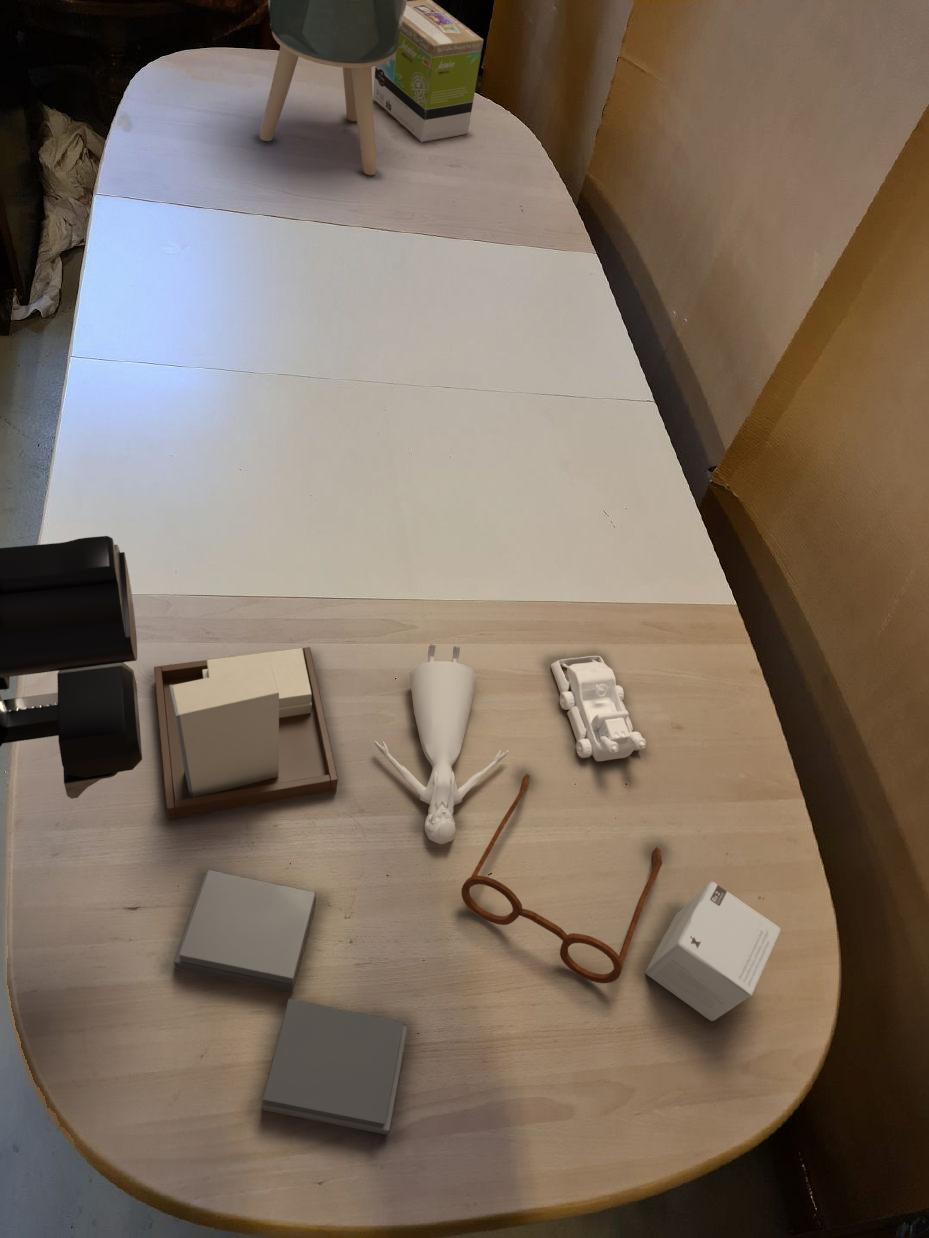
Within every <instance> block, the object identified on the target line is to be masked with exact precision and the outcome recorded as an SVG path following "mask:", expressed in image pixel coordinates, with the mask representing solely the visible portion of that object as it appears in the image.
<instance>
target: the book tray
mask: <svg viewBox="0 0 929 1238" xmlns="http://www.w3.org/2000/svg"><path fill="white" fill-rule="evenodd" d="M301 648H302V649H303V654H304V659H305V664H306V669H307V674H308V679H309V684H310V689H311V693H312V695H311V703H312V709H311V713H309V714H302V715H295V716H288V717H282V718H279V770H278V777H275V778H271V779H267V780H263V781H259V782H256V783H252V784H248V785H244V786H240V787H236V788H232V789H228V790H224V791H220V792H216V793H212V794H208V795H205V796H200V797H194V798H190V795H189V790H188V786H187V781H186V777H185V772H184V766H183V761H182V755H181V749H180V744H179V738H178V732H177V727H176V721H175V715H174V710H173V704H172V698H171V693H170V687H169V685H176V684H181V683H185V682H190V681H195V680H200V679H203V672H202V670H203V669H208V667H207V660H208V659H205V660H197V661H189V662H181V663H174V664H172V663H171V664H167V665H166V664H164V665H158V666H154V667H153V673H154V685H155V695H156V706H157V707H156V708H157V718H158V729H159V740H160V751H161V763H162V772H163V783H164V784H163V785H164V795H165V806H166V807H165V808H166V812H167V817H168V820H169V821H172V820H173V821H174V820H178V819H185V818H191V817H195V816H202V815H207V814H212V813H218V812H224V811H231V810H236V809H242V808H246V807H252V806H258V805H264V804H269V803H275V802H281V801H286V800H293V799H298V798H303V797H309V796H314V795H321V794H327V793H331V792H336V791H337V790H338V782H339V777H338V773H337V769H336V768H337V767H336V764H335V763H336V762H335V758H334V754H333V750H332V744H331V739H330V735H329V730H328V726H327V721H326V716H325V711H324V706H323V702H322V697H321V692H320V688H319V682H318V678H317V672H316V669H315V663H314V660H313V655H312V650H311V647H310V646H308V647H301Z"/></svg>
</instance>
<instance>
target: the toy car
mask: <svg viewBox="0 0 929 1238" xmlns="http://www.w3.org/2000/svg"><path fill="white" fill-rule="evenodd" d="M550 668H551V671H552V674H553V677H554V679H555V682H556V684H557V685H556V686H557V687H558V691H559V693H560V694H559V704H560V707H561V709H562V710H565V711H567V710H568V711H567V712H566V715H567V716H568V719H569V722H570V725H571V729H572V731H573V734H574V737H575V740H576V744H575V748H576V749H575V750H576V753H577V755H578V757H579V758H581V759H586V758H590V757H591V756H592V757H593V759H594V761H596V762H604V761H611V760H617V759H625V758H627V757H629V756H630V755H631V754H632V753H633V752H634V751H638V750H644V749H645V748H646V746H647V740H646V739H645V738H644V737H643V736H642V734H641V732H640V731H633V730H634V727H633V723H632V721H631V719H630V716H629V715H630V713H629V711H628V710H627V708H626V706H625V704H624V702H623V701H624V698H625V693H624V689H623V687H622V686H621V685H617V681H616V680H617V679H616V676H615V673H614V670H613V669H612V668H611V667H609V666H608V664H606V663H605V661H604V659H603V658H602V657H601V656H600V655H588V656H581V657H570V658H564V659H558V660H556V661H554V662H553V663H552V664H551V665H550ZM562 668H565V669H566V672H567V678H566V675H565V673H564V671H563V669H562ZM567 679H568V680H567ZM569 690H570V691H569Z"/></svg>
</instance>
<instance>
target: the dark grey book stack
mask: <svg viewBox="0 0 929 1238" xmlns="http://www.w3.org/2000/svg"><path fill="white" fill-rule="evenodd" d="M408 1029H409V1027H408V1026H407V1025H404V1022H403V1021H399V1020H395V1019H389V1018H385V1017H380V1016H375V1015H370V1014H365V1013H360V1012H355V1011H350V1010H346V1009H340V1008H335V1007H331V1006H326V1005H321V1004H317V1003H311V1002H307V1001H302V1000H298V999H292V998H288V1001H287V1004H286V1007H285V1011H284V1015H283V1020H282V1023H281V1027H280V1031H279V1035H278V1038H277V1041H276V1042H277V1043H276V1045H275V1050H274V1054H273V1058H272V1062H271V1064H270V1065H271V1066H270V1068H269V1073H268V1077H267V1080H266V1084H265V1088H264V1092H263V1095H262V1102H261V1110H262V1111H267V1112H272V1113H276V1114H277V1113H278V1114H280V1115H281V1114H282V1115H287V1116H292V1117H297V1118H302V1119H307V1120H311V1121H317V1122H322V1123H327V1124H331V1125H332V1124H333V1125H338V1126H343V1127H347V1128H352V1129H357V1130H363V1131H367V1132H373V1133H376V1134H377V1133H378V1134H381V1135H388V1134H389V1133H390V1130H391V1125H392V1119H393V1115H394V1108H395V1101H396V1096H397V1092H398V1091H397V1090H398V1085H399V1080H400V1074H401V1069H402V1063H403V1057H404V1051H405V1045H406V1040H407V1034H408Z"/></svg>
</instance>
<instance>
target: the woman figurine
mask: <svg viewBox="0 0 929 1238" xmlns="http://www.w3.org/2000/svg"><path fill="white" fill-rule="evenodd" d="M436 645H437V644H433V643H429V645H428V648H427V661H426V662H422V663H419V664H418V665H416V666H415V667H413V668H412V669H411V670H409V671H408V676H409V683H410V691H411V697H412V707H413V708H412V709H413V713H414V717H415V722H416V727H417V731H418V735H419V740H420V745H421V748H422V751H423V754H424V757H425V758H426V760H427V761H428V762H429V763H430V765H431V767H432V769H431V770H432V771H431V774H430V777H429V779H428V782H427V785H426V786H425V785H424V784H422V783H421V782H420V781H419V780H418V779H417V778H416V777H415V776H414V775H413V773H412V772H410V771H409V769H407V768H406V767H405V766H404V765H402V764H401V763H400V762H399V761H397V760H396V759H395V758H394V756H392V755H391V754H390V752H389V748H388V746H387V744H386V743H385V741H383V740H382V745H383V746H382V745H380V744H379V742H378V741H377V740H376V739H375V740H374V741H373V744H374V745H375V747H376V748H377V749H378V751H379V752H380V753H381V754H382V755H383V756H384V757H385V758H386V759H387V760H388V761H389V762H390V763H391V764H392V765H393V766H394V768H395V769H396V770H397V771H398V772H399V774H400V775H401V776H402V777H403V778H404V779H405V780H407V782H408V783H409V784H410V785H411V786H412V787H413V788H414V790H415V791H416V792H417V793H418V794H419V796H420V798H419V801H422V802H423V803H425V804H428V805H429V807H428V811H427V813H428V814H427V816H426V818H425V821H424V832H425V834H426V836H427V838H428V840H429V841H432V842H434V843H436V844H439V845H444V844H447V843H449V842H452V841H453V840H454V838H455V836H456V829H457V828H456V822H455V819H454V816H453V815H454V810H455V809H454V806H455V805H458V804H460V803H462V802H463V798H464V797H465V796H466V794H467V792H468V791H470V790H471V789H472V787H474V785H476V784H477V783H478V782H479V781H481V780H482V779H483V777H484V776H485V775H487V774H488V772H490V771H491V770H492V769H493V768H494V767H496V765H497V764H499V762H500V761H501V760H503V759H504V758H505V757H507V754H508V753H509V749H507V750H506V751H505V752H504V751H503V750H502V749H499V752H497V754H496V755H495V757H494V760H493V761H491V762H490V763H489V764H488V765H487V766H485V767H484V768H483V769H482V770H479V771H478V772H476V773H475V774H473V775H472V776H470V778H468V780H467V781H466V782H465V783H464V784H462V785H461V786H460V787H458V785H457V782H456V777H455V773H454V771H453V769H452V767H453V766H454V764H455V763H456V761H457V760H458V758H459V756H460V753H461V749H462V746H463V743H464V738H465V735H466V730H467V726H468V721H469V716H470V714H471V713H470V712H471V710H472V709H471V708H472V704H473V700H474V695H475V690H476V686H477V681H478V677H477V675H476V673H475V671H474V670H473V668H471V667H469V666H467V665H465V664H463V663H461V662H459V658H460V653H461V652H460V651H461V646H458V645H457V646H456V645H453V648H452V657H451V661H447V660H435V652H436ZM501 752H502V754H501Z"/></svg>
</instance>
